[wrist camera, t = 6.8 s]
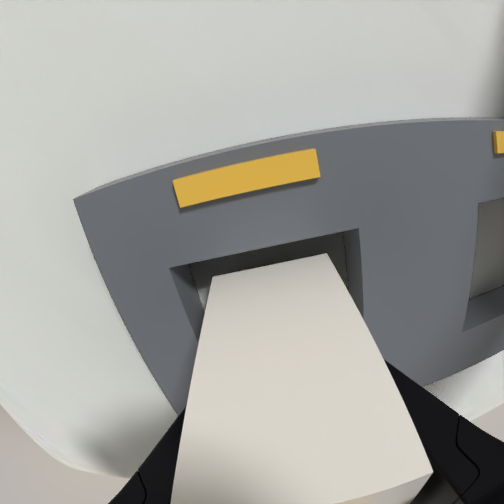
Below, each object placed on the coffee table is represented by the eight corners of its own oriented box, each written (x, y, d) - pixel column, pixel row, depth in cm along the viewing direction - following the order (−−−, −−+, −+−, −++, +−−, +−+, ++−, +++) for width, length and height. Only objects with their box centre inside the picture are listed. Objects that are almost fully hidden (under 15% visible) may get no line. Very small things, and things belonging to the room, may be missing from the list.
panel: (547, 121, 9) (575, 127, 7) (528, 308, 13) (546, 326, 11) (99, 186, 10) (69, 200, 8) (194, 404, 15) (189, 436, 13)
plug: (326, 253, 10) (444, 501, 2) (335, 340, 12) (396, 541, 4) (212, 276, 10) (164, 543, 3) (240, 359, 12) (235, 567, 4)
